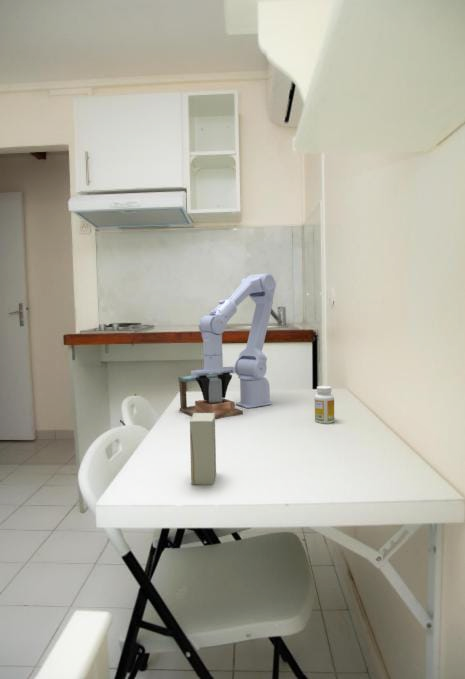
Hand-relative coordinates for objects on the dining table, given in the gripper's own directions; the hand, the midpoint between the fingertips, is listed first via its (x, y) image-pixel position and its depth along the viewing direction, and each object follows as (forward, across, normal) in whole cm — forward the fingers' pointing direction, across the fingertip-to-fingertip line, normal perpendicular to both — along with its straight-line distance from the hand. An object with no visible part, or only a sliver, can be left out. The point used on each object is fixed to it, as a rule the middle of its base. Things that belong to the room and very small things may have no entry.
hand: (214, 398), depth 134 cm
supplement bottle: (+5, -21, +26) cm, 34 cm away
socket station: (+5, 0, -3) cm, 6 cm away
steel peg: (+3, 0, 0) cm, 3 cm away
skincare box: (+5, +26, +44) cm, 51 cm away
